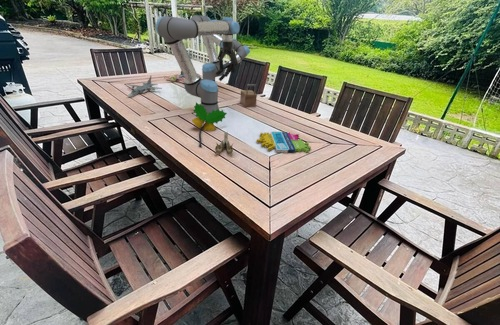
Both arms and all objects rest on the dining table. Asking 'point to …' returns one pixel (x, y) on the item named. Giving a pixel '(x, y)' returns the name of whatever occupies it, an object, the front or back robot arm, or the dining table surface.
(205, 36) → the back robot arm
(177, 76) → the toy
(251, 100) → the chest
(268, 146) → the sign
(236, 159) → the dining table surface
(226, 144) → the jawbone
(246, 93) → the brown piece
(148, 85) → the airplane
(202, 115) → the ornament
